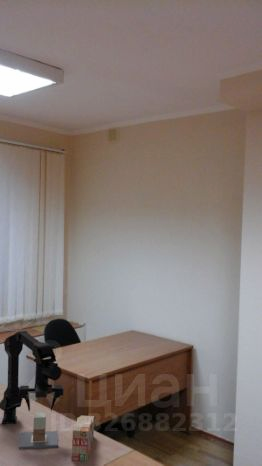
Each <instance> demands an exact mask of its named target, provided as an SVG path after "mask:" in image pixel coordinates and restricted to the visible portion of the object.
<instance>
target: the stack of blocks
mask: <svg viewBox="0 0 262 466" xmlns="http://www.w3.org/2000/svg"><path fill="white" fill-rule="evenodd" d="M94 422H95V416H94V415H80V416H79V417H77V419H76V422H75V425H74V427H73V430H72V441H71V442H72V444H71V445H72V446H71V447H72V448H71V461H75V462H76V461H77V462H87V461H88V459H89V456H90V451H91V448H92V443H93V440H94V431H95V430H94V429H95V423H94Z"/></svg>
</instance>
